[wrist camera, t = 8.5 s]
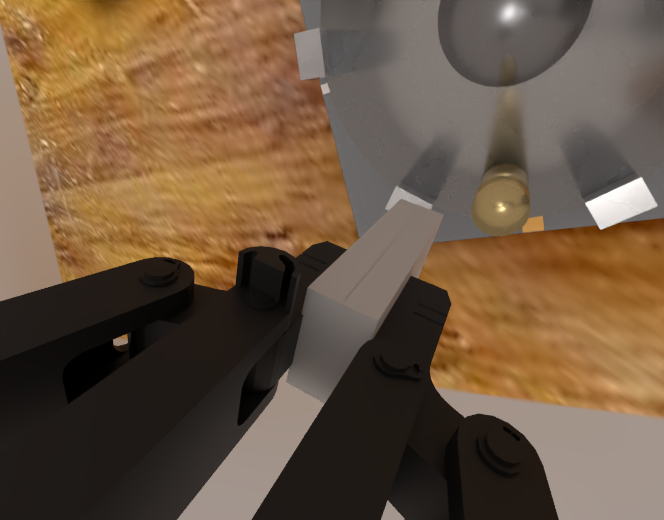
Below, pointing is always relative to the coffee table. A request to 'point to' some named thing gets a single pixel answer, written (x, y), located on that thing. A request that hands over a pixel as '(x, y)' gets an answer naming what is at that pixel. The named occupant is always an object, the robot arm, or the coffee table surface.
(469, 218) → the plate
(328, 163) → the coffee table surface
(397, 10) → the grey metal round disc
